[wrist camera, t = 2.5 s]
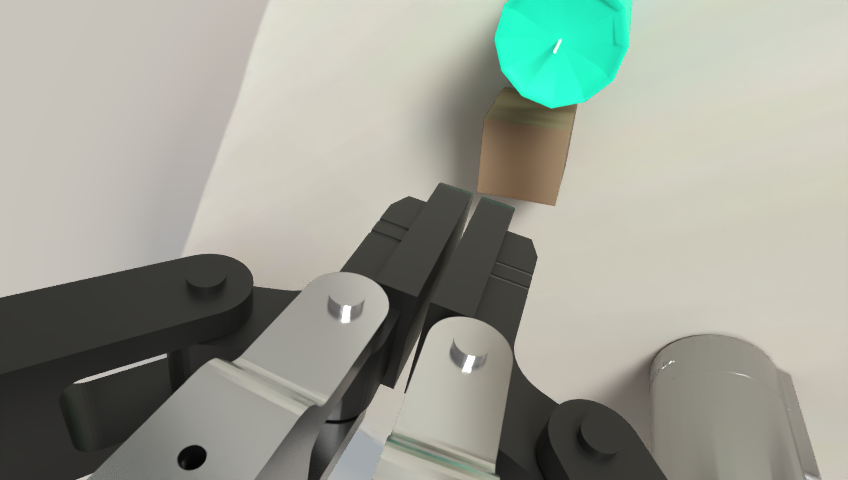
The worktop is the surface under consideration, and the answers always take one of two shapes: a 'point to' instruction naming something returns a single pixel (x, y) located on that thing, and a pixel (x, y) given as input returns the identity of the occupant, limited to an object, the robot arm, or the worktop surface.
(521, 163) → the walnut block
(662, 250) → the worktop surface
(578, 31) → the candle
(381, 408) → the worktop surface
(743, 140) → the worktop surface
